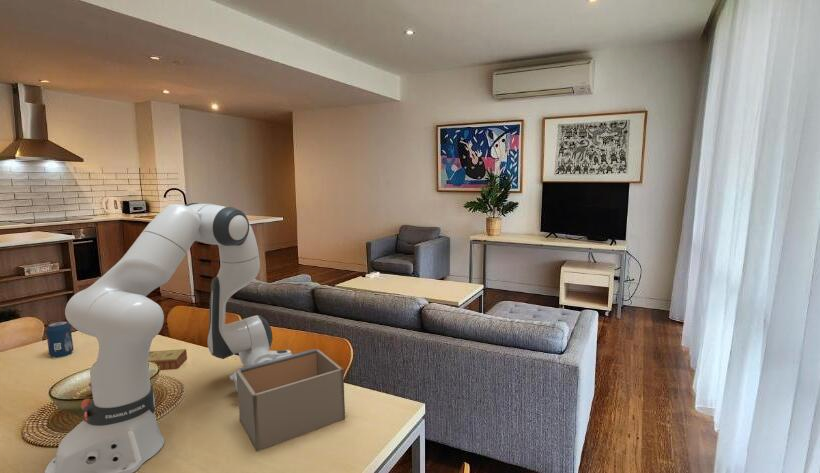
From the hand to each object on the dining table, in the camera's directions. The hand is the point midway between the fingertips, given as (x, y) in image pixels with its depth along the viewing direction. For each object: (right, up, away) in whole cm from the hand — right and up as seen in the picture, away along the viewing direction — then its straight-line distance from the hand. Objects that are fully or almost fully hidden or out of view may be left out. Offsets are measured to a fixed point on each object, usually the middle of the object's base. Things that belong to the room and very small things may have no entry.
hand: (278, 383), depth 120 cm
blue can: (-91, -2, +36) cm, 98 cm away
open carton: (+6, -7, -8) cm, 12 cm away
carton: (-50, -3, +26) cm, 56 cm away
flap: (+2, -5, -2) cm, 6 cm away
